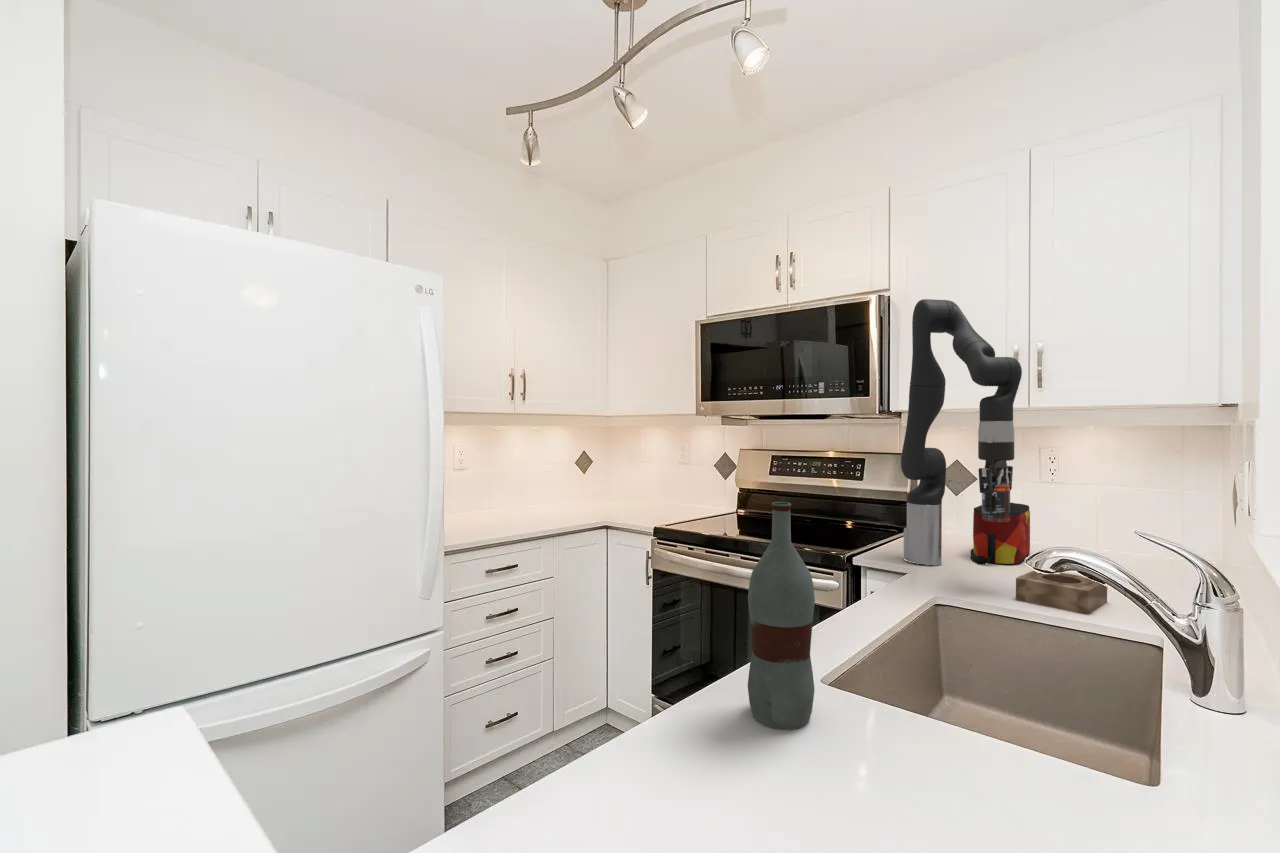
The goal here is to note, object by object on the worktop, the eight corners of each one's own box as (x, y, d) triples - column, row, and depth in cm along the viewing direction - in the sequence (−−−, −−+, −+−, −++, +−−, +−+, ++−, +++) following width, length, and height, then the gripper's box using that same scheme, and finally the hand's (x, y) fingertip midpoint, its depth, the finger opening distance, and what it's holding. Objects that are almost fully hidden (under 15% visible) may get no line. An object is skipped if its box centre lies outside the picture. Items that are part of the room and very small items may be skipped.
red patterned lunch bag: (1014, 570, 170) (1015, 511, 170) (960, 562, 179) (960, 506, 179) (1035, 552, 193) (1035, 500, 193) (985, 546, 202) (985, 496, 202)
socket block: (1015, 599, 143) (1015, 577, 143) (1037, 588, 152) (1037, 568, 152) (1088, 614, 132) (1088, 591, 132) (1107, 601, 141) (1107, 580, 141)
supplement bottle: (1003, 519, 151) (1003, 472, 151) (1015, 523, 145) (1015, 474, 145) (977, 518, 152) (977, 472, 152) (988, 522, 146) (988, 474, 146)
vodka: (771, 694, 94) (772, 497, 93) (827, 715, 87) (828, 503, 87) (734, 715, 87) (734, 503, 87) (791, 739, 81) (791, 510, 80)
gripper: (991, 439, 156) (991, 506, 156) (966, 440, 147) (966, 511, 147) (1025, 439, 150) (1024, 509, 150) (1000, 441, 141) (1000, 514, 141)
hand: (995, 509), depth 148 cm, fingers closed on supplement bottle, 6 cm apart
